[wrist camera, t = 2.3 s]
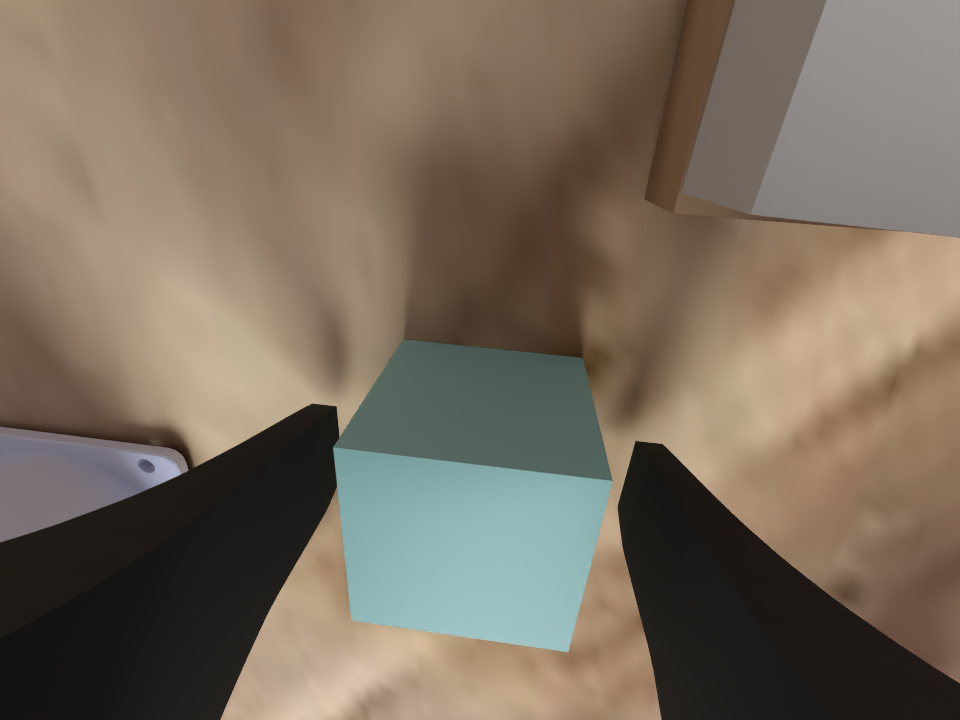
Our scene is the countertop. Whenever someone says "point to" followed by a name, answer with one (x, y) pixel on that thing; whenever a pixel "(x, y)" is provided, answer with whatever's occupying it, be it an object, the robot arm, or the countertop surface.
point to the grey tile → (836, 114)
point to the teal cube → (473, 494)
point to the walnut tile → (693, 113)
